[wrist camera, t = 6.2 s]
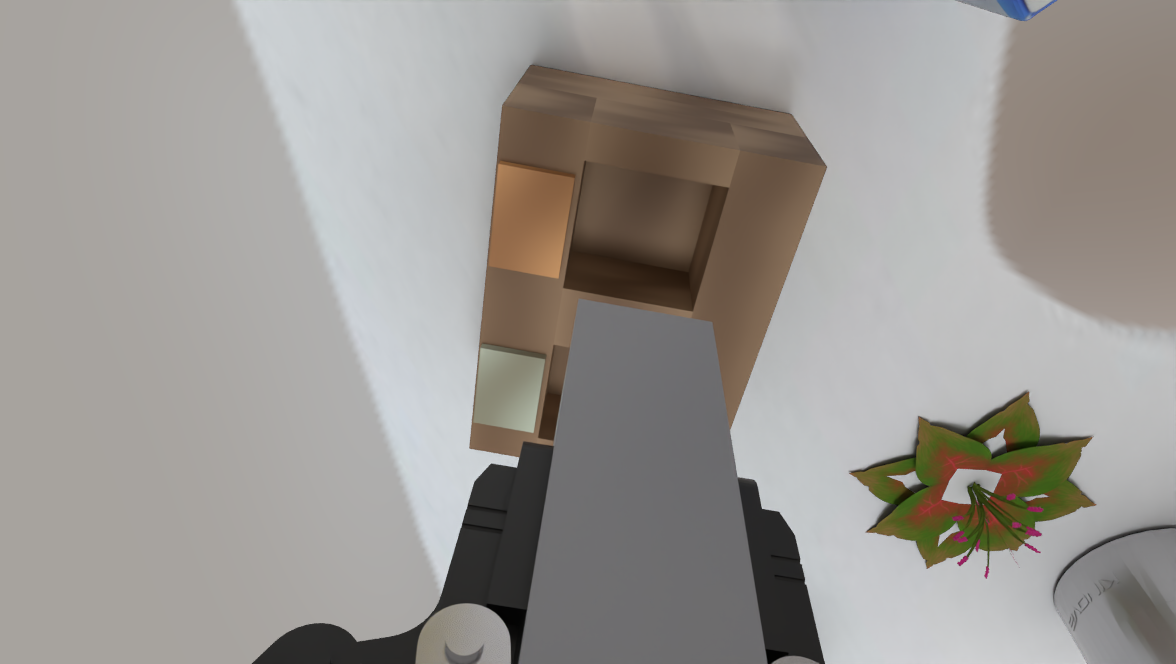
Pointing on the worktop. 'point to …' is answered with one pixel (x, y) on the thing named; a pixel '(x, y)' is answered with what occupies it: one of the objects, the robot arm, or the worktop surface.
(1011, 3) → the medicine box
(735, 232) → the socket block
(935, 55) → the worktop surface
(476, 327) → the worktop surface
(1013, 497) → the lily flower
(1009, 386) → the worktop surface
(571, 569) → the plug
